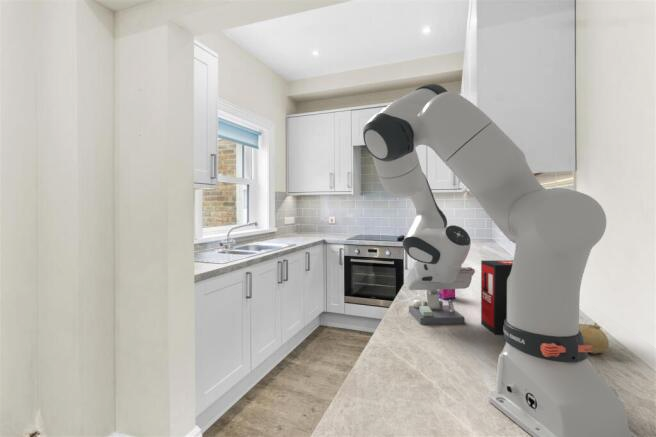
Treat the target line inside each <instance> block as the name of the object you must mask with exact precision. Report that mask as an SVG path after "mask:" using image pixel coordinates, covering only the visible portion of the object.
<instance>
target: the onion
mask: <svg viewBox="0 0 656 437" xmlns="http://www.w3.org/2000/svg"><path fill="white" fill-rule="evenodd" d="M579 330H580V331H581V333H582V336H583V339H584V342H585V345H592V346H593V347H591V348H588V349H587V350H591V351H593V352H588V354H593V355H598V354H602V353H605V352H606V351H607V350H608V349H609V346H610V342H609V339H608V336H607V335H606V333H605V332H603V331H602V329H601V326H600V325H598V324H597V322H594V324H586V323H579Z"/></svg>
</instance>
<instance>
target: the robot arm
mask: <svg viewBox="0 0 656 437" xmlns="http://www.w3.org/2000/svg"><path fill="white" fill-rule="evenodd" d="M362 136H363V142H364V145H365V148H366V149H367V150H368V152H369V153H370V155H371V156H372V158H373V163H374V166H375V170H376V173H377V175H378V178H379V182H380V184H381V186H382V188H383V189H384V191H385V192H386V193H387V194H388V195H391V196H393V197H395V198H405V197H406V198H407V197H410V199H411V202H412V203H413V205H414V209H415V215H414V219H413V221H412V223H411V224H410V227H409V229H408V230H407V233H406V234H405V237H404V239H403V240H402V247H403V250H404V251H405V253H406V254H407V255H408V257H410V258H412V259H413V260H415V261H414V262H413V267H412V268H410V269H409V271H408V273H407V275H406V279H405V284H406V287H407V290H410V291H423V290H424V291H425V290H429V295H438V294H439V292H441V291H443V290H444V289H455V290H459V289H462V290H463V289H464V290H465V289H467V288H469V287H470V286H471V282H472V281H473V280H472V278H473V276H474V274H475V273H476V270H475V269H474V268H472V267H463V266H462V265H463V264H464V263H465V261H466V259H467V258H468V254H469V252H470V251H471V243H472V242H471V237H470V235H469V234H468V232H467V231H466V230H465V229H464V228H462V227H461V226H459V225H453V224H451V225H448V218H447V217H446V215H445V214H444V212H443V211H442V210H441V208H439V206H438V204H437V202H436V199H435V197H434V194H433V191H432V188H431V186H430V183H429V181H428V179H427V177H426V175H425V173H424V172H423V169H422V166H421V163H420V159H419V156H418V153H417V149H416V147H418V146H421V145H423V146H427V147H429V148H430V149H431V150H432V151H434V153H435V154H436V156H438V157H439V159H441V161H442V162H443V163H444V164H445V165H446V166H447V167H448V169H449V170H451V172H453V174H454V175H455V176H456V177H457V178H458V179H459V180H460V181H461V183H462V184H463V185H464V186H465V187H466V188H467V189H468V190H469V191H470V193H471V194H472V196H473V197H475V199H476V200H477V201H478V203H479V204H480V206H481V207H482V209H483V210H484V211H485V212H486V213H487V215H488V216H489V218H490V219H491V220H492V221H493V223H494V224H495V226H496V227H497V228H498V229H499V230H500V231H501V232H502V234H503V236H505V237H506V238H507V239H508V240H509V241H510V242H512V243H513V244H515V250H514V256H513V265H512V269H511V273H510V275H509V277H508V279H507V319H505V321H504V327H503V331H504V335H503V339H504V341H505V344H504V346H503V349H502V350H501V352H500V354H499V355H498V358H497V359H498V360H497V365H496V366H497V367H496V368H497V369H496V379H495V387H494V388H495V389H494V390H493V391H492V392H491V393H489V397H488V401H489V403H491V404H492V406H495V408H496V409H498V410H499V411H501V412H502V413H503V414H504V415H506V416H507V417H508V418H510V419H511V420H512V421H513V422H515V424H517V425H518V426H519V427H520V428H521V429H523V430H524V431H525V432H527V433H528V434H529V435H531V436H532V437H638V436H637V435H636V434H635V433H634V432H633V431H632V430H631V429H630V428H629V419H628V415H627V414H628V413H627V410H626V408H625V405H624V403H623V402H622V401H621V400H620V397H619V393H618V392H617V389H615V388H614V387H613V386H610V385H609V384H608V383H607V382H606V381H605V379H604V378H603V377H602V375H601V374H600V373H599V372H598V370H597V369H596V368H595V366H594V365H593V364H592V363H591V361H590V360H589V352H593V351H591V350H587V349H588V348H591V347H593V346H592V345H585V342H584V339H583V336H582V333H581V331H580V330H579V324H580V294H581V287H582V286H581V285H582V280H583V277H584V273H585V270H586V266H587V264H588V263H587V262H588V260H589V256H590V254H591V252H592V249H593V248H594V246H596V245H597V244H598V243H599V242H600V241H601V239H602V237H603V236H604V235H605V232H606V228H607V216H606V213H605V210H604V208H603V207H602V205H601V204H600V203H599V202H598V201H597V200H596V199H595V198H593V197H592V196H591V195H588V194H586V193H583V192H580V191H578V190H574V189H569V188H566V187H565V188H563V187H553V188H552V187H551V188H545V187H544V186H543V185H542V184H541V183H540V182H539V181H538V179H537V177H536V176H535V174H534V173H533V171H532V169H531V168H530V166H529V164H528V162H527V159H526V156H525V153H524V151H523V150H521V148H520V147H519V146H518V145H517V144H516V143H515V142H514V141H513V140H512V139H511V138H510V137H509V136H508V135H507V134H506V133H505V132H504V131H503V130H502V129H501V128H500V127H499V126H498V125H497V124H496V122H494V121H493V120H492V119H491V118H490V116H488V115H487V114H486V112H484V111H483V110H481V109H480V108H479V107H478V106H477V105H476V104H474V103H472V102H471V101H470V100H468V99H467V98H465V97H464V96H463V95H461V94H459V93H457V92H455V91H448V90H447V89H446V88H445V87H444V86H442V85H439V84H436V83H429V84H425V85H422V86H419V87H417V88H416V89H415V90H413V91H411V92H410V93H408V94H406V95H404V96H402V97H401V98H397V99H396V100H394V101H393V102H391V103H389V105H387V106H386V107H384V108H383V109H382V110H381V111H380V112H379V113H376V114H374V115H373V116H372V117H371V118H370V119H369V120H368V121H367V122H366V124H365V125H364V126H363V130H362Z"/></svg>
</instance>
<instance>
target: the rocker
mask: <svg viewBox="0 0 656 437" xmlns="http://www.w3.org/2000/svg"><path fill="white" fill-rule="evenodd" d="M419 310H420V312H421V313H422V315H423V316H432V311H431V309H430V308H429V307H428V306H423V305H422V306H420V309H419Z"/></svg>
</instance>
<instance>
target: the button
mask: <svg viewBox="0 0 656 437" xmlns="http://www.w3.org/2000/svg"><path fill="white" fill-rule="evenodd" d="M412 303H413V305H412V306H413V307H416V308H420V306H423V305H422V304H423V301H422V300H421V299H413V302H412Z"/></svg>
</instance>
